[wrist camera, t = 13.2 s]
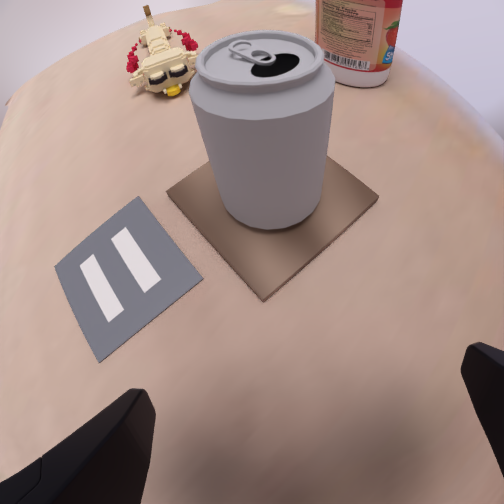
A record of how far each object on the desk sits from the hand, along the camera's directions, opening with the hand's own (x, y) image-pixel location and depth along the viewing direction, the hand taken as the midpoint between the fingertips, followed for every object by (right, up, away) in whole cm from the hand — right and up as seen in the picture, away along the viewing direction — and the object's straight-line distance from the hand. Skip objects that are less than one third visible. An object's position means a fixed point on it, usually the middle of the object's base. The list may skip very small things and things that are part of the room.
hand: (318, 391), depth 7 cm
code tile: (-12, +2, +15) cm, 19 cm away
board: (0, +8, +16) cm, 18 cm away
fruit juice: (+11, +26, +24) cm, 37 cm away
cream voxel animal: (-14, +31, +29) cm, 45 cm away
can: (0, +8, +16) cm, 18 cm away
